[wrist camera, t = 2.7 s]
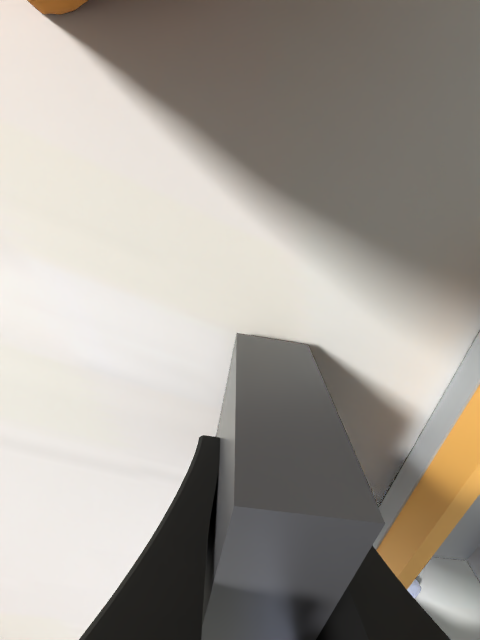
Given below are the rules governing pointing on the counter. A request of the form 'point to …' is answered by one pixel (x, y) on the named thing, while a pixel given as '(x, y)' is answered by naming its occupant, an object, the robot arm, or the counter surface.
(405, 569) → the panel rack
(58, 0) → the coffee package
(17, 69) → the counter surface
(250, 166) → the counter surface
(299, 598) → the panel
